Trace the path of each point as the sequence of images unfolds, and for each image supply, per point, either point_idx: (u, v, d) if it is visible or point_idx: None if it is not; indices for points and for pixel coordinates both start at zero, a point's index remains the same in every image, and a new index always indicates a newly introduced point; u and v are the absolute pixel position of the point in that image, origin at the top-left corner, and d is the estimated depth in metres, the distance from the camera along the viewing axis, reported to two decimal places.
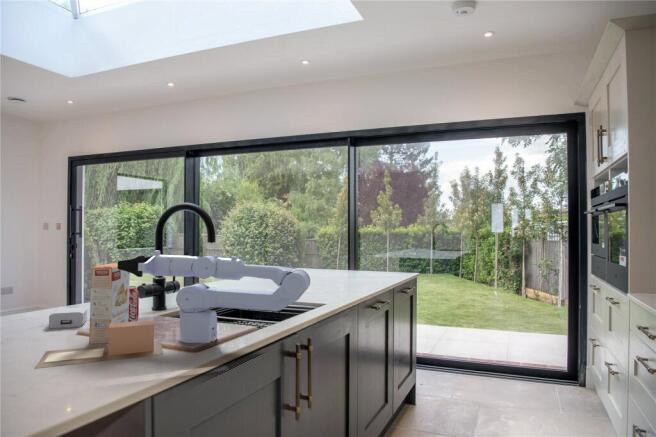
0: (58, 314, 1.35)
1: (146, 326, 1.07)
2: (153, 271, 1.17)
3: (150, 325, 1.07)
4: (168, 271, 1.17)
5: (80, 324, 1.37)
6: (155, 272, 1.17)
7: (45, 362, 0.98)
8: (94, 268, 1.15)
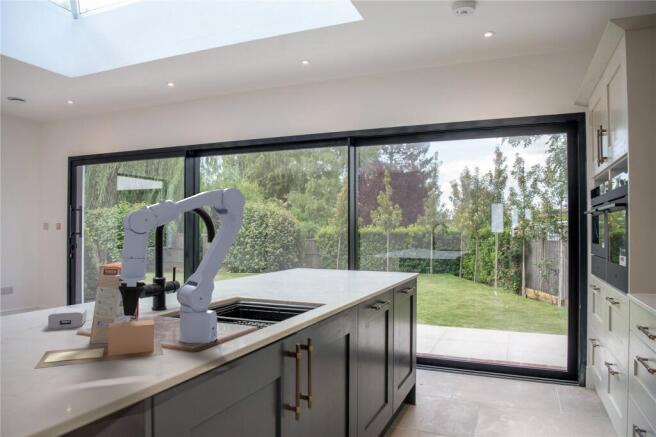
0: (57, 314, 1.35)
1: (146, 326, 1.07)
2: (139, 276, 1.07)
3: (150, 325, 1.07)
4: (140, 260, 1.07)
5: (79, 324, 1.37)
6: (140, 275, 1.08)
7: (45, 362, 0.98)
8: (103, 267, 1.15)
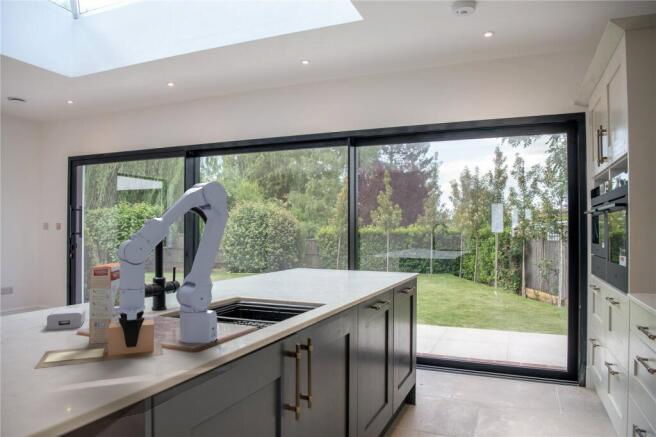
0: (56, 315, 1.34)
1: (146, 326, 1.07)
2: (138, 307, 1.06)
3: (150, 325, 1.07)
4: (138, 290, 1.06)
5: (78, 325, 1.36)
6: (140, 305, 1.07)
7: (45, 362, 0.98)
8: (93, 268, 1.15)
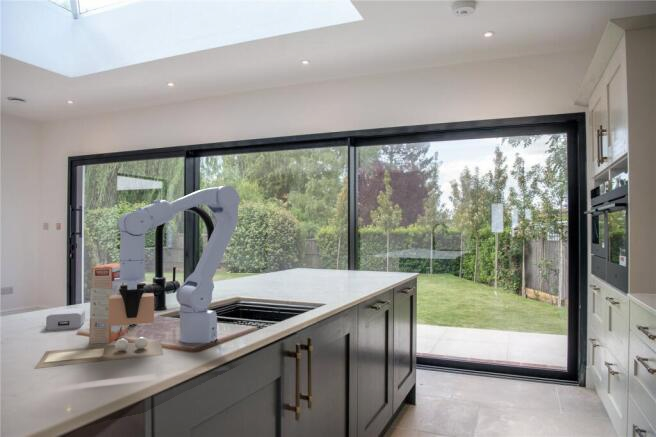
0: (55, 315, 1.33)
1: (146, 298, 1.07)
2: (139, 278, 1.06)
3: (150, 297, 1.07)
4: (138, 262, 1.07)
5: (78, 325, 1.35)
6: (140, 277, 1.07)
7: (45, 362, 0.98)
8: (94, 268, 1.15)
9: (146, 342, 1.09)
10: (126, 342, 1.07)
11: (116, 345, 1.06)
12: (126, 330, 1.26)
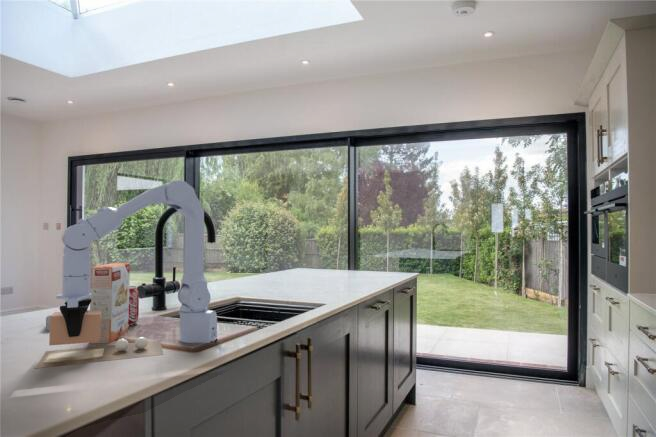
0: None
1: (91, 316, 1.02)
2: (82, 295, 1.01)
3: (96, 315, 1.02)
4: (82, 277, 1.02)
5: None
6: (84, 293, 1.02)
7: (45, 362, 0.98)
8: (94, 268, 1.15)
9: (146, 342, 1.09)
10: (126, 342, 1.07)
11: (116, 345, 1.06)
12: (126, 330, 1.26)
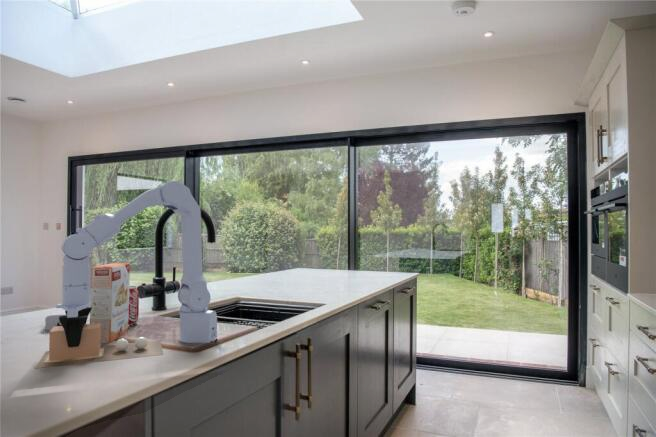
0: (55, 316, 1.32)
1: (91, 330, 1.02)
2: (82, 304, 1.01)
3: (95, 329, 1.02)
4: (82, 287, 1.02)
5: None
6: (84, 302, 1.02)
7: (45, 362, 0.98)
8: (94, 268, 1.15)
9: (146, 342, 1.09)
10: (126, 342, 1.07)
11: (116, 345, 1.06)
12: (126, 330, 1.26)
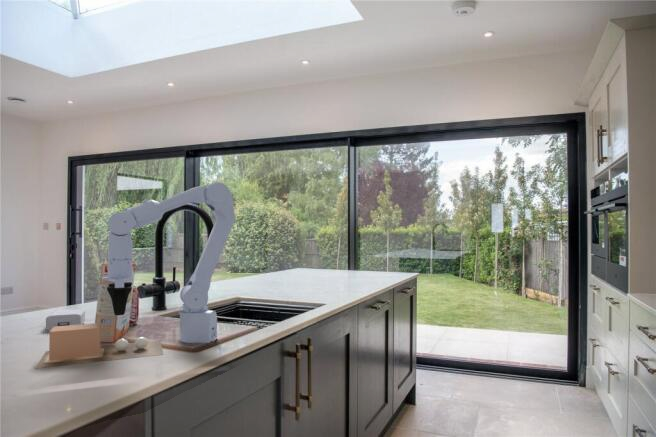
0: (55, 316, 1.32)
1: (91, 330, 1.02)
2: (126, 277, 1.10)
3: (95, 329, 1.02)
4: (126, 261, 1.10)
5: None
6: (127, 275, 1.10)
7: (45, 362, 0.98)
8: (104, 264, 1.16)
9: (146, 342, 1.09)
10: (126, 342, 1.07)
11: (116, 345, 1.06)
12: (127, 329, 1.27)
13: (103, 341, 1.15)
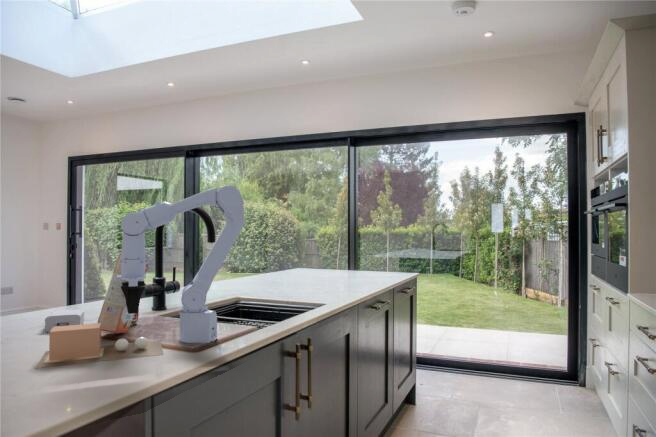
0: (54, 317, 1.31)
1: (91, 330, 1.02)
2: (139, 276, 1.13)
3: (95, 329, 1.02)
4: (139, 260, 1.13)
5: None
6: (140, 274, 1.13)
7: (45, 362, 0.98)
8: None
9: (146, 342, 1.09)
10: (126, 342, 1.07)
11: (116, 345, 1.06)
12: (128, 328, 1.27)
13: (105, 329, 1.15)
